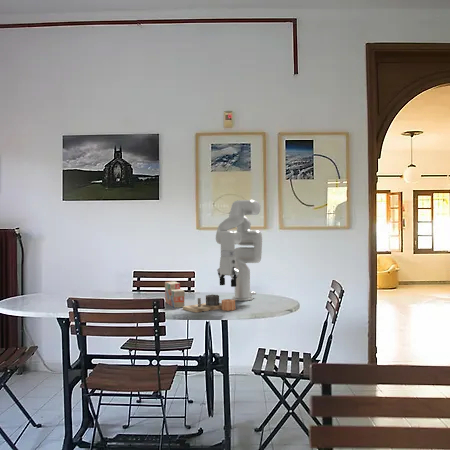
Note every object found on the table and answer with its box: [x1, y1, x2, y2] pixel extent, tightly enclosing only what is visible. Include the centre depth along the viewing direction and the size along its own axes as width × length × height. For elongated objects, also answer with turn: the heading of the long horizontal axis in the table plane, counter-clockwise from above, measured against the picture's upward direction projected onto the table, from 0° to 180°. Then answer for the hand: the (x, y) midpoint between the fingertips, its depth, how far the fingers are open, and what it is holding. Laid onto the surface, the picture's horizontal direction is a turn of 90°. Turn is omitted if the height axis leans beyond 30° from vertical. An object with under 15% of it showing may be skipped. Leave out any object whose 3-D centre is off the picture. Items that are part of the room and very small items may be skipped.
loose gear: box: [221, 298, 236, 311], centre depth 259 cm, size 7×7×5 cm
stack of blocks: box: [164, 280, 186, 309], centre depth 277 cm, size 21×6×12 cm, turn 20°
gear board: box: [182, 294, 222, 313], centre depth 263 cm, size 22×13×7 cm, turn 128°
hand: (227, 285), depth 258 cm, fingers open, 9 cm apart
